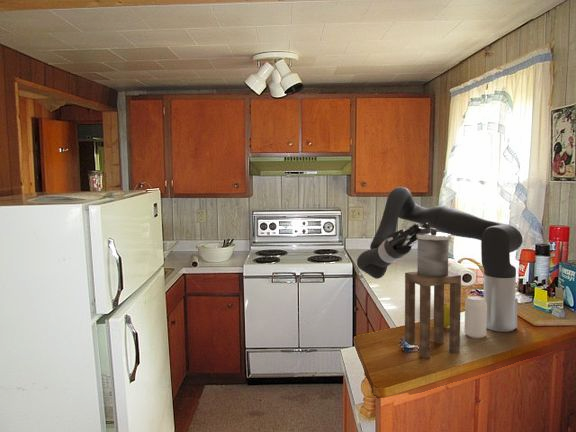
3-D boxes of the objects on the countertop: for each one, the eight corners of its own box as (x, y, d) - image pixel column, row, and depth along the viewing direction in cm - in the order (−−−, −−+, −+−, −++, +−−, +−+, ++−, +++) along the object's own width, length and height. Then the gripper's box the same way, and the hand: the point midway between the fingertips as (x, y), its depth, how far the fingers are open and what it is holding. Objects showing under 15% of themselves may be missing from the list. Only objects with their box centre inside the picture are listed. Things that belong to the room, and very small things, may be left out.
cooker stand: (439, 341, 135) (440, 235, 132) (459, 352, 127) (461, 239, 124) (404, 346, 131) (405, 238, 128) (423, 358, 123) (424, 242, 120)
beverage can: (473, 330, 143) (474, 293, 142) (490, 336, 138) (491, 298, 137) (460, 334, 140) (460, 296, 139) (476, 340, 135) (477, 301, 134)
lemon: (455, 331, 143) (456, 306, 142) (437, 330, 144) (437, 306, 143) (452, 325, 148) (453, 301, 147) (435, 324, 149) (435, 301, 149)
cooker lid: (426, 232, 136) (426, 224, 136) (458, 239, 123) (458, 229, 123) (400, 234, 133) (400, 226, 133) (430, 241, 120) (430, 231, 120)
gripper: (372, 238, 144) (398, 215, 129) (409, 235, 149) (439, 213, 134) (378, 260, 141) (405, 240, 127) (416, 257, 146) (447, 236, 131)
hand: (422, 226), depth 130 cm, fingers closed on cooker lid, 3 cm apart
